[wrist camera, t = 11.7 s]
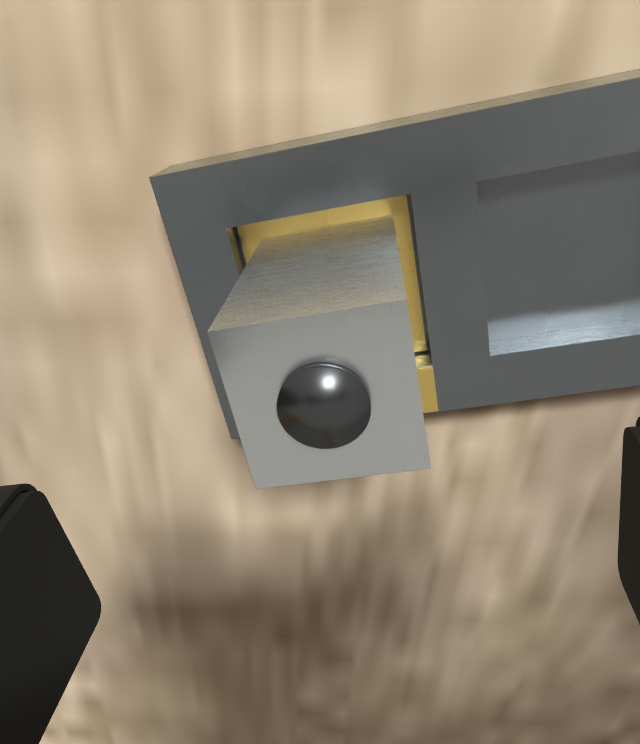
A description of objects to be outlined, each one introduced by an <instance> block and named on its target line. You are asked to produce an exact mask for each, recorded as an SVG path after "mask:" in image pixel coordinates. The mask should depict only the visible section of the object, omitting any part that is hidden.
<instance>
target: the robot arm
mask: <svg viewBox="0 0 640 744" xmlns="http://www.w3.org/2000/svg"><path fill="white" fill-rule="evenodd" d="M618 569H619V574H620V578H621V582H622V585H623V587H624V590H625V592H626V594H627V596H628V599H629V601H630V603H631V605H632V608H633V610H634V612H635V614H636V617H637V619H638V621H639V623H640V417H638V419H637V422H636V426H635V427H627V428H625V430H624V435H623V454H622V476H621V498H620V520H619V542H618ZM100 613H101V602H100V599H99V596H98V594H97V592H96V591H95V589H94V587H93V585H92V583H91V581H90V579H89V577H88V575H87V574H86V572H85V570H84V568H83V566H82V564H81V562H80V560H79V558H78V557H77V555H76V553H75V551H74V549H73V547H72V545H71V543H70V541H69V540H68V538H67V536H66V534H65V532H64V530H63V528H62V526H61V524H60V523H59V521H58V519H57V517H56V515H55V513H54V511H53V509H52V507H51V506H50V504H49V502H48V500H47V498H46V496H45V495H44V494H43V493H42V492H40V491H37V490H36V488H35V487H33V486H32V485H30V484H16V485H7V486H0V744H39V742H40V740H41V738H42V736H43V734H44V732H45V730H46V728H47V726H48V724H49V721H50V719H51V717H52V715H53V713H54V711H55V709H56V707H57V705H58V703H59V701H60V699H61V697H62V695H63V693H64V691H65V689H66V687H67V684H68V682H69V680H70V678H71V676H72V674H73V672H74V670H75V668H76V666H77V664H78V662H79V660H80V658H81V656H82V654H83V652H84V650H85V647H86V645H87V643H88V641H89V639H90V637H91V635H92V633H93V631H94V629H95V627H96V625H97V623H98V620H99V618H100Z"/></svg>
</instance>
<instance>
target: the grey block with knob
mask: <svg viewBox="0 0 640 744" xmlns="http://www.w3.org/2000/svg"><path fill="white" fill-rule="evenodd" d="M207 332H208V335H209V339H210V342H211V345H212V348H213V352H214V355H215V358H216V361H217V365H218V368H219V371H220V374H221V378H222V381H223V384H224V387H225V391H226V394H227V397H228V400H229V403H230V407H231V410H232V413H233V416H234V420H235V423H236V426H237V429H238V433H239V436H240V439H241V442H242V446H243V449H244V452H245V455H246V459H247V462H248V465H249V468H250V472H251V475H252V478H253V481H254V485H255V488H256V489H261V488H270V487H278V486H287V485H295V484H304V483H312V482H321V481H329V480H338V479H346V478H354V477H363V476H371V475H380V474H388V473H397V472H405V471H414V470H422V469H430V468H431V466H430V459H429V452H428V445H427V438H426V430H425V423H424V416H423V409H422V402H421V395H420V388H419V381H418V374H417V367H416V360H415V353H414V346H413V339H412V332H411V325H410V318H409V311H408V304H407V297H406V291H405V285H404V280H403V274H402V268H401V262H400V256H399V250H398V244H397V238H396V233H395V227H394V221H393V215H387V216H382V217H376V218H371V219H365V220H360V221H354V222H349V223H343V224H338V225H333V226H327V227H322V228H316V229H311V230H305V231H300V232H294V233H289V234H284V235H278V236H273V237H267V238H262V239H261V241H260V243H259V245H258V246H257V248H256V250H255V251H254V253H253V255H252V256H251V258H250V260H249V262H248V263H247V265H246V267H245V268H244V270H243V272H242V274H241V275H240V277H239V279H238V280H237V282H236V284H235V285H234V287H233V289H232V291H231V292H230V294H229V296H228V297H227V299H226V301H225V302H224V304H223V306H222V308H221V309H220V311H219V313H218V314H217V316H216V318H215V319H214V321H213V323H212V325H211V326H210V328H209V330H208V331H207Z"/></svg>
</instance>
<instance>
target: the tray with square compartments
mask: <svg viewBox="0 0 640 744" xmlns="http://www.w3.org/2000/svg"><path fill="white" fill-rule="evenodd" d="M149 178H150V181H151V185H152V188H153V191H154V194H155V197H156V200H157V204H158V207H159V210H160V213H161V216H162V220H163V223H164V226H165V229H166V232H167V235H168V239H169V242H170V245H171V248H172V251H173V255H174V258H175V261H176V264H177V267H178V270H179V274H180V277H181V280H182V283H183V286H184V289H185V293H186V296H187V299H188V302H189V305H190V309H191V312H192V315H193V318H194V321H195V324H196V328H197V331H198V334H199V337H200V340H201V343H202V347H203V350H204V353H205V356H206V359H207V363H208V366H209V369H210V372H211V375H212V378H213V382H214V385H215V388H216V391H217V394H218V398H219V401H220V404H221V407H222V410H223V413H224V417H225V420H226V423H227V426H228V429H229V432H230V436H231V439H236V438H240V436H239V433H238V429H237V426H236V423H235V420H234V416H233V413H232V410H231V407H230V403H229V400H228V397H227V394H226V391H225V387H224V384H223V381H222V378H221V374H220V371H219V368H218V365H217V361H216V358H215V355H214V352H213V348H212V345H211V342H210V339H209V335H208V332H207V331H208V330H209V328H210V326H211V325H212V323H213V321H214V319H215V318H216V316H217V314H218V313H219V311H220V309H221V308H222V306H223V304H224V302H225V301H226V299H227V297H228V296H229V294H230V292H231V291H232V289H233V287H234V285H235V284H236V282H237V280H238V279H239V277H240V275H241V274H242V272H243V270H244V268H245V267H246V265H247V263H248V262H249V260H250V258H251V256H252V255H253V253H254V251H255V250H256V248H257V246H258V245H259V243H260V241H261V239H262V238H267V237H273V236H278V235H284V234H289V233H294V232H300V231H305V230H311V229H316V228H322V227H327V226H333V225H338V224H343V223H349V222H354V221H360V220H365V219H371V218H376V217H382V216H387V215H393V221H394V227H395V233H396V238H397V244H398V250H399V256H400V262H401V268H402V274H403V280H404V285H405V291H406V297H407V304H408V311H409V318H410V325H411V332H412V339H413V346H414V353H415V360H416V367H417V374H418V381H419V388H420V395H421V402H422V409H423V414H426V413H434V412H442V411H449V410H457V409H465V408H472V407H480V406H487V405H495V404H503V403H510V402H518V401H526V400H533V399H541V398H548V397H556V396H564V395H571V394H579V393H587V392H594V391H602V390H609V389H617V388H625V387H632V386H640V69H638V70H633V71H628V72H623V73H618V74H613V75H609V76H604V77H599V78H594V79H589V80H584V81H580V82H575V83H570V84H565V85H560V86H555V87H550V88H546V89H541V90H536V91H531V92H526V93H521V94H516V95H512V96H507V97H502V98H497V99H492V100H487V101H482V102H478V103H473V104H468V105H463V106H458V107H453V108H449V109H444V110H439V111H434V112H429V113H424V114H419V115H415V116H410V117H405V118H400V119H395V120H390V121H385V122H381V123H376V124H371V125H366V126H361V127H356V128H352V129H347V130H342V131H337V132H332V133H327V134H322V135H318V136H313V137H308V138H303V139H298V140H293V141H288V142H284V143H279V144H274V145H269V146H264V147H259V148H254V149H250V150H245V151H240V152H235V153H230V154H225V155H221V156H216V157H211V158H206V159H201V160H196V161H191V162H187V163H182V164H177V165H172V166H170V167H168V168H166V169H164V170H162V171H160V172H158V173H157V174H155V175H153V176H151V177H149Z"/></svg>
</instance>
